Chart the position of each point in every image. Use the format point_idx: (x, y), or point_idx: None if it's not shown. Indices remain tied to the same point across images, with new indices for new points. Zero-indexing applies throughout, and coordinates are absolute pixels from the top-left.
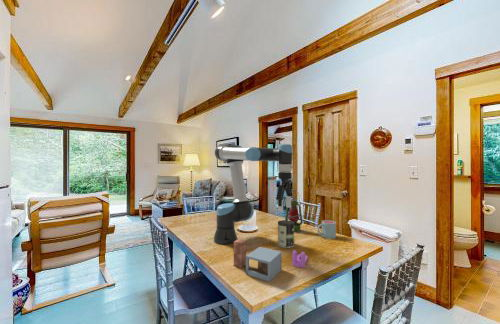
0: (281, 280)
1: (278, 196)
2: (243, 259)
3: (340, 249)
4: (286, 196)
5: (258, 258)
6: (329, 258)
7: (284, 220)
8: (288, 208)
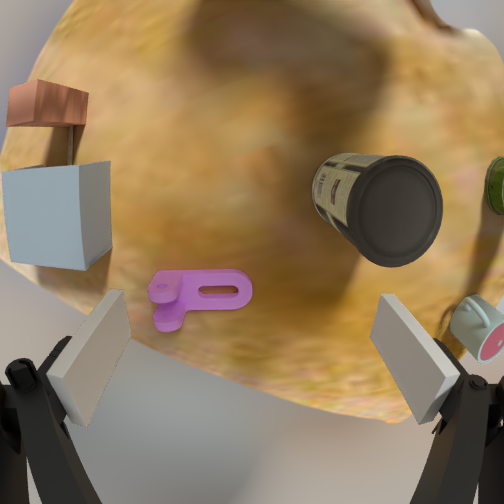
0: None
1: (20, 414)
2: (58, 125)
3: (363, 370)
4: (443, 378)
5: (7, 219)
6: (276, 359)
7: (437, 191)
8: None
